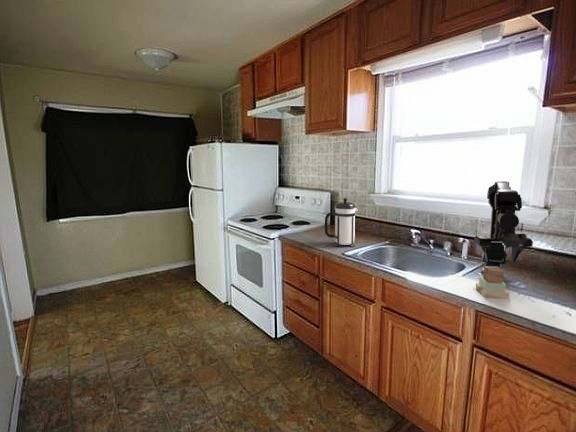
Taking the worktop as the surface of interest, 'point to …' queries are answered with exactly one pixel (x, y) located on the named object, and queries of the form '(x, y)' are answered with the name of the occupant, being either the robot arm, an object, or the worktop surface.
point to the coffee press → (343, 223)
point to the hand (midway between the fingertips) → (500, 262)
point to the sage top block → (492, 285)
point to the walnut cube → (493, 274)
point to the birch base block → (492, 293)
